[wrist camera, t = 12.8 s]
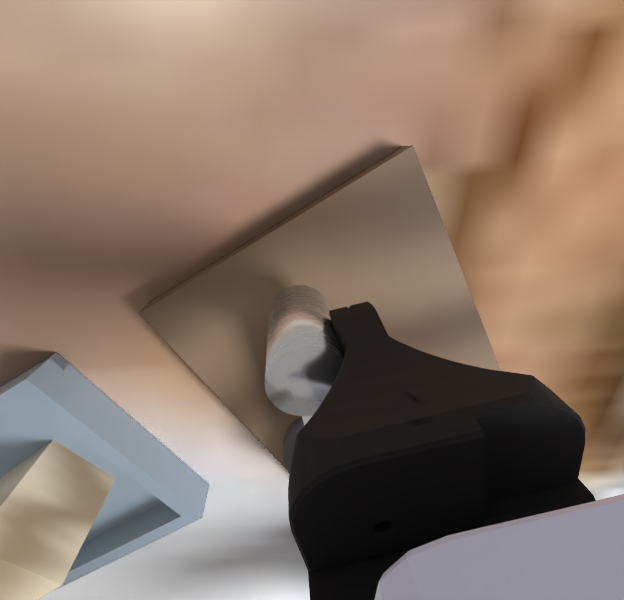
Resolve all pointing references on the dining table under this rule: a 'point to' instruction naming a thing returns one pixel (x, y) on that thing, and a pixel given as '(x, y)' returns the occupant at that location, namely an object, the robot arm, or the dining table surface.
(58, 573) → the block
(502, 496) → the robot arm
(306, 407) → the crank lever
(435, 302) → the board
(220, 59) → the dining table surface
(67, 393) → the tray
